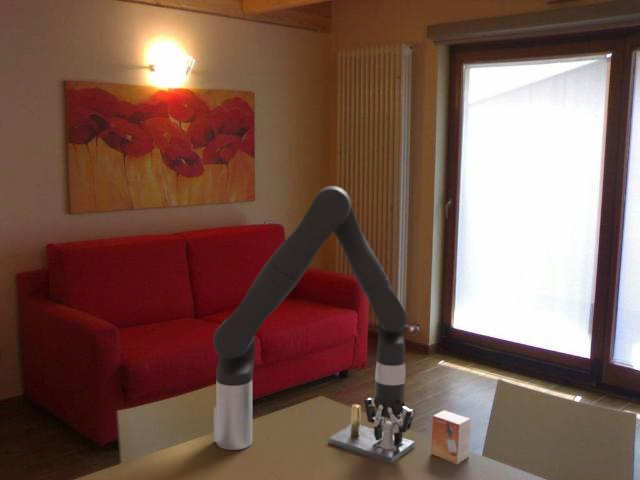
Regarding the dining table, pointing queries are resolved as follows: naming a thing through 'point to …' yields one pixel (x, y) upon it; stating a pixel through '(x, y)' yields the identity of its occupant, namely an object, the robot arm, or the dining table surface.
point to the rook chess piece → (387, 437)
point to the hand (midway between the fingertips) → (387, 441)
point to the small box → (450, 436)
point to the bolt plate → (367, 440)
